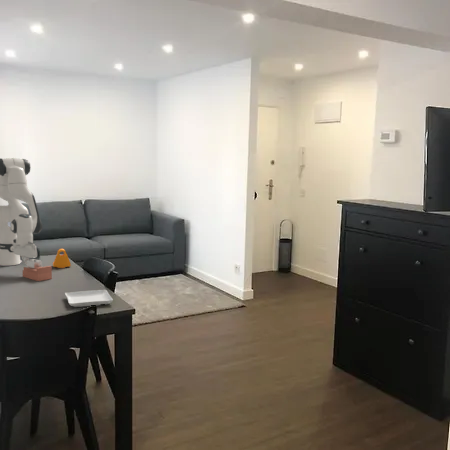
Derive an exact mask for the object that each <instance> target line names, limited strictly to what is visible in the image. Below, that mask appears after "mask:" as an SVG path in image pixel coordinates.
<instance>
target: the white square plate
mask: <svg viewBox="0 0 450 450" xmlns="http://www.w3.org/2000/svg"><path fill="white" fill-rule="evenodd" d="M64 295H65V296H66V299H67V302H68V304H69V305H70V306H71V307H74V308H79V307H80V308H81V307H92V306H91V305H96V306H101V305H100V304H105V305H109V304H110V303H112V302H113V301H114V299H113V297H112V296H111V295H110V294H109V292H108V290H107V289H96V290H95V289H94V290H92V289H91V290H81V291H71V292H64Z"/></svg>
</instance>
